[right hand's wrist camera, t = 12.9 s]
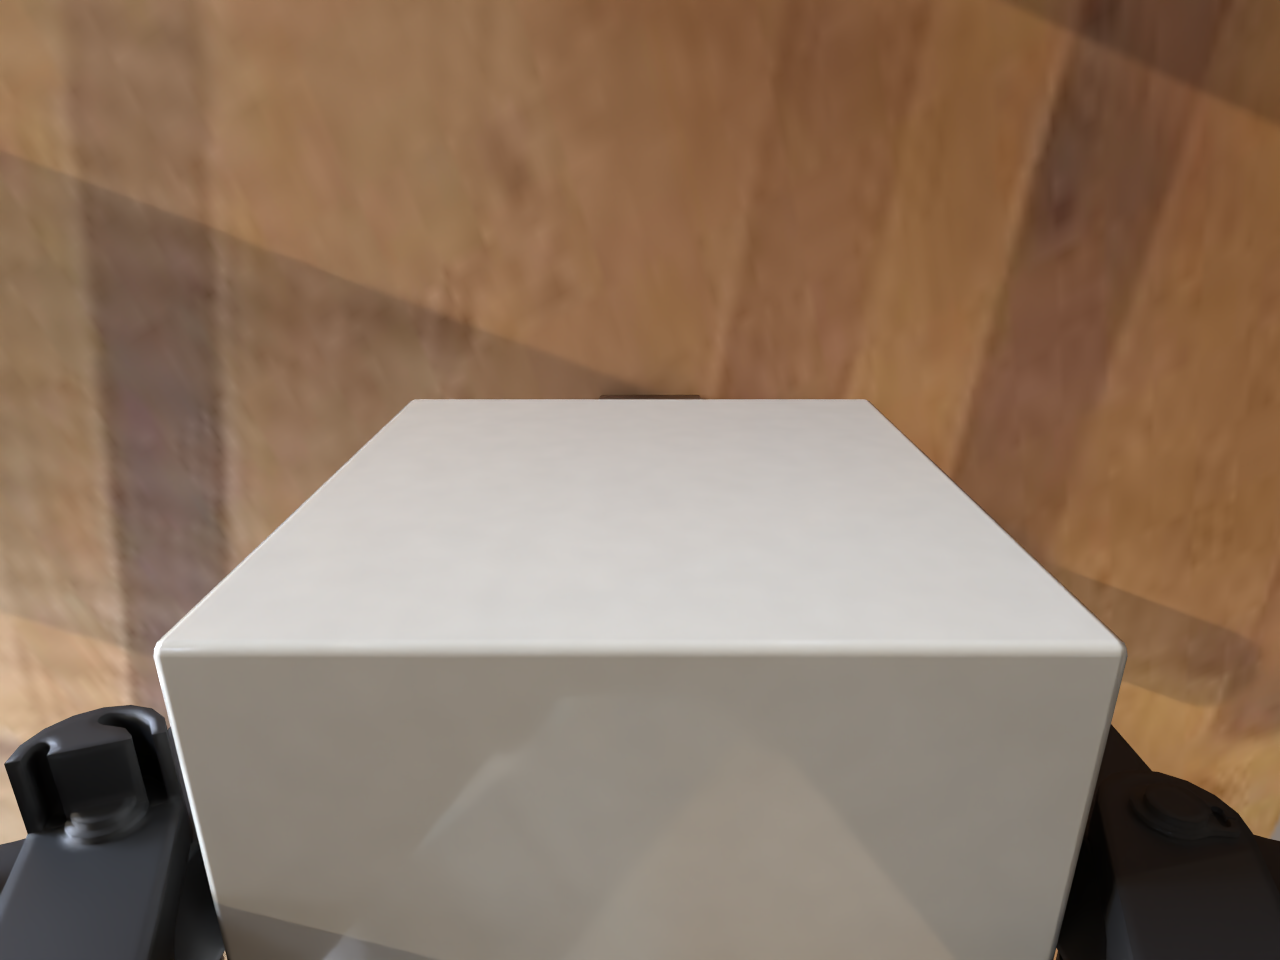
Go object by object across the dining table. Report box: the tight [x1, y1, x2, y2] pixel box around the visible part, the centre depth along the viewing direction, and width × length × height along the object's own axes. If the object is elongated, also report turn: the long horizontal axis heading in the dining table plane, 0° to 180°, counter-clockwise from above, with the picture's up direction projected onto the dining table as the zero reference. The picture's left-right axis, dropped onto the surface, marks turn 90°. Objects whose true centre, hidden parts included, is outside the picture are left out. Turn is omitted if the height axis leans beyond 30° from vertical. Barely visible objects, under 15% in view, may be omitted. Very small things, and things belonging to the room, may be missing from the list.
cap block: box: [154, 399, 1127, 960], centre depth 10 cm, size 7×7×7 cm
